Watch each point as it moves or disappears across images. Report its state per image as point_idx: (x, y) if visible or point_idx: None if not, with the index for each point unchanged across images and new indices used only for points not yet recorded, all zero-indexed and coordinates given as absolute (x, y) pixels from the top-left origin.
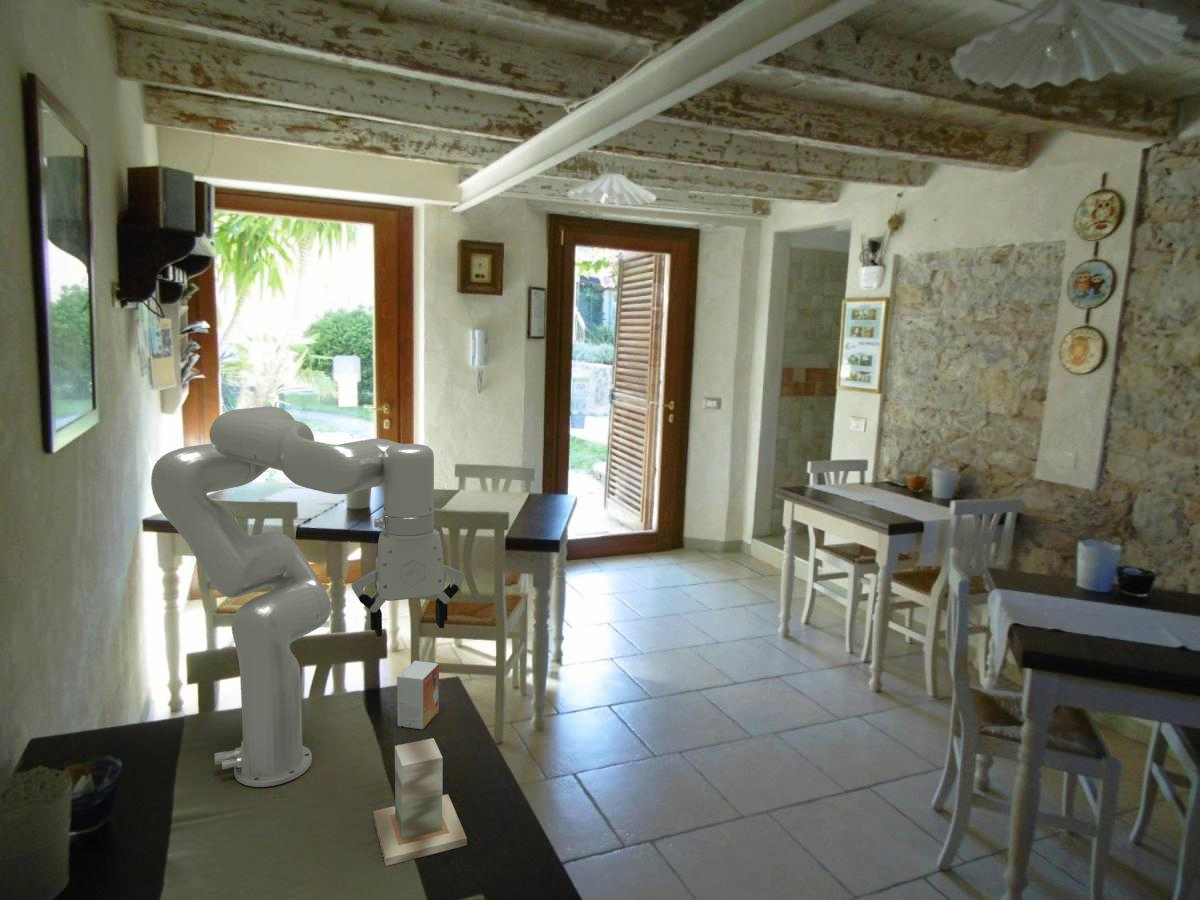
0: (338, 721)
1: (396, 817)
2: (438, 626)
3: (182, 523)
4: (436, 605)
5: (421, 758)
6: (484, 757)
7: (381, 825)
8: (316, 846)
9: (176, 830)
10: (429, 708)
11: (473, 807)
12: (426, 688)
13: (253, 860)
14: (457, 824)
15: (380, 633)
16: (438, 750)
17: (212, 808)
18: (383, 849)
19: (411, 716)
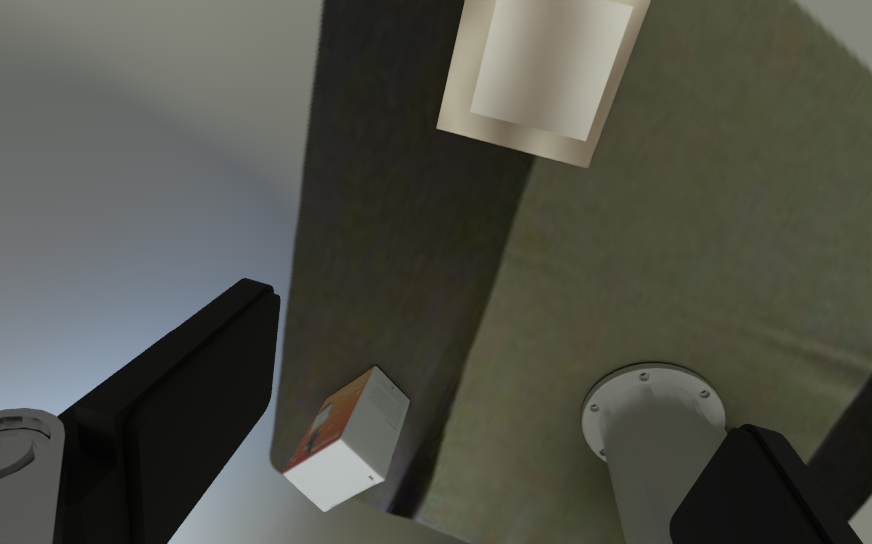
0: (490, 470)
1: None
2: (277, 325)
3: None
4: (179, 497)
5: (561, 12)
6: (314, 217)
7: (600, 110)
8: (719, 147)
9: None
10: (346, 396)
11: (405, 72)
12: (338, 424)
13: (833, 180)
14: (470, 9)
15: (767, 439)
16: (492, 29)
17: (796, 370)
18: (640, 25)
19: (385, 395)
